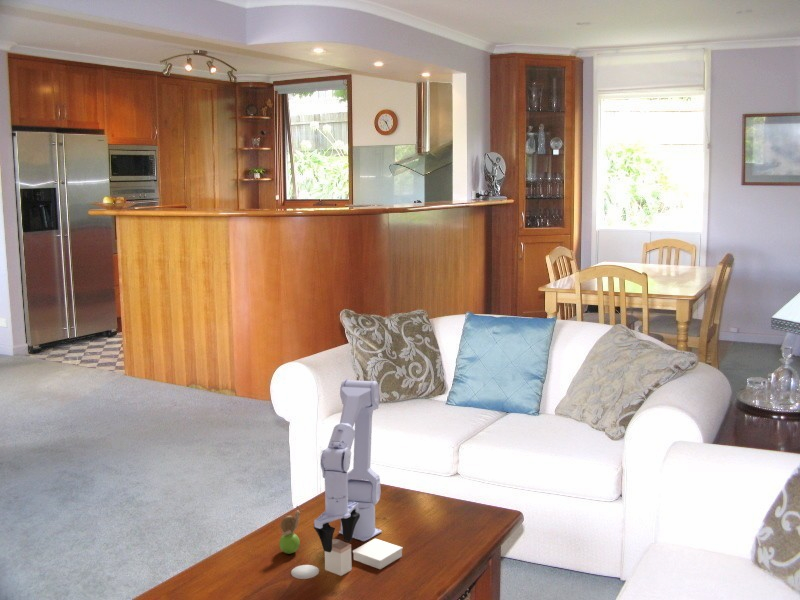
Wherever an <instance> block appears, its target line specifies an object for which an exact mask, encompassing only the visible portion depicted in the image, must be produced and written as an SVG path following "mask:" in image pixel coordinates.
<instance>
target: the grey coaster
mask: <svg viewBox="0 0 800 600" xmlns="http://www.w3.org/2000/svg"><path fill="white" fill-rule="evenodd" d="M319 572H320V569H319V568H318V567H317V566H316V565H311V564H302V565H301V564H300V565H297V566H295V567H294V568H293V569H292V570H291V572H290V574H291V576H292V577H293V578H295V579H301V580H305V579H306V580H307V579H312V578H314V577H316V576H317V575H319Z"/></svg>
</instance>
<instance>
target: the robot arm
mask: <svg viewBox="0 0 800 600" xmlns="http://www.w3.org/2000/svg"><path fill="white" fill-rule="evenodd" d="M380 390H381V389H380V385H379V383H378V381H377V380H373V381H372V380H355V379H353V380H352V379H350V380H349V379H343V380H342V382H341V384H340V387H339V395H340V400H341V404H342V411H341V415H340V421H339V423H338V424H336V425H334V427H333V429H332V432H331V437H330V439H329V441H328V442H329V443H328V446H327V448H326V449H323V450H322V452H321V456H320V469H321V472H322V479H324V500H325V501H324V504H325V508H324V509H325V510H324V511H323V512H322V513H321V514H320V515H319V516H318V517H317V518H315V519H313V529H314V530H315V532H316V534H317V535H318V537H319V539H320V540H319V541H320V542H321V546H322V549H323V551H324V552H325V551H326V552H331V551H332V540H333V539H334V533H335V530H336V527H333V526H331V524H330V523H332V522H334V521H337V520H340V530H339V531H338V533H339V534H341V535H342V537H343V540H344V541H345V542H348V543H349V542H352V539H355V540H358V541H361V542H367V541H368V540H370V539H372V538H374V537H375V536H377V535H379V534H381V533H382V531H383V530H382V529H379V528H376V505H377V504H378V503H379V501H380V498H381V495H382V494H381V493H382V491H381V488H382V487H381V481H380V480H381V478H380V476H379V474H378V473H377V472H376V471H374V470H373V469H372V467H371V460H372V459H371V455H372V430H373V429H372V428H373V413H374V411H376V410H378V409H379V405H380V394H381V393H380V392H381V391H380ZM352 446H353V464H352V465H353V467H352V469H351V470H349V469H350V466H351V458H352V451H351V449H352Z"/></svg>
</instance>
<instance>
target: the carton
mask: <svg viewBox="0 0 800 600" xmlns="http://www.w3.org/2000/svg"><path fill="white" fill-rule="evenodd" d="M352 568H353V567H352V544H351V543H349V542H347V541H345V540H344V541H343V540H341V539H337V538H332V551H331V552H326V551H324V570H325V571H327V572H330V573H333V574H334V575H338V576H340V577H342V576H343V575H345V574H347V573H349V572H351V571H352V570H353V569H352Z"/></svg>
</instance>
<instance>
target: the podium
mask: <svg viewBox="0 0 800 600" xmlns="http://www.w3.org/2000/svg"><path fill="white" fill-rule="evenodd" d="M403 549H404V548H403V546H400V545H397V544H393V543H390V542H388V541H384V540H382V539H378V538H373V539H372V540H369V541H368V542H365V543H364V544H362V545H361V546H359V547H357V548H355V549H353V550H351V553H352V554H353V560H354V561H357V562H358V563H362V564H364V565H367V566H370V567H373V568H376V569H379V570H382V569H383V568H385V567H387V566H388V565H390V564H391V563H393V562H395V561H396V560H398V559H400V558H402V557H403Z"/></svg>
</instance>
